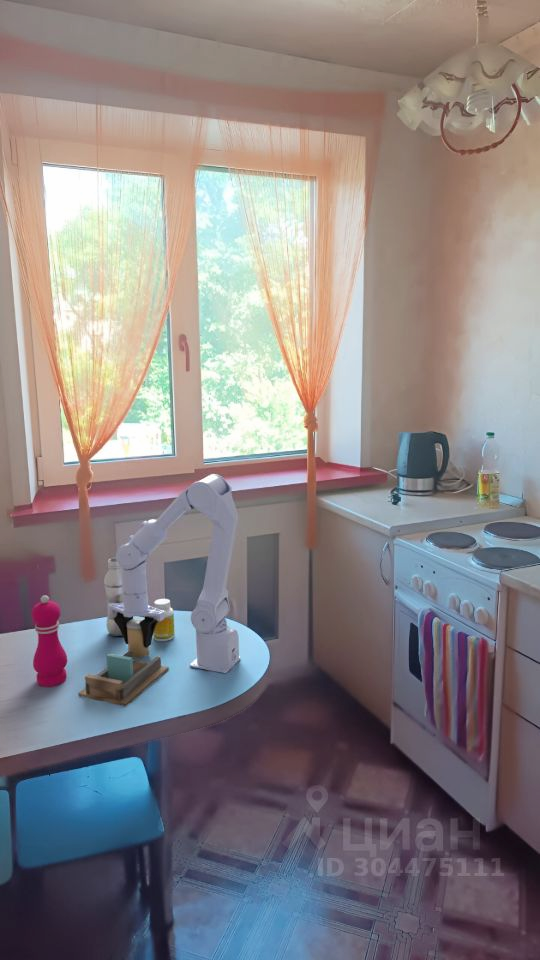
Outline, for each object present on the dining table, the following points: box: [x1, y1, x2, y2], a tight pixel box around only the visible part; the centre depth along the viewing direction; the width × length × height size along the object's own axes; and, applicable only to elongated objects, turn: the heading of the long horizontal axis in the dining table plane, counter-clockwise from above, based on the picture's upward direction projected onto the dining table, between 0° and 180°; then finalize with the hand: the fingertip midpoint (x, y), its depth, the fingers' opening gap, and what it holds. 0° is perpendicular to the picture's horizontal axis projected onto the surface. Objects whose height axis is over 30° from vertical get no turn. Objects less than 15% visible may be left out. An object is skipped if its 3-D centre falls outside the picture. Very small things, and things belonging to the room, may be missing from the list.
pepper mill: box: [31, 594, 68, 688], centre depth 143 cm, size 7×7×20 cm
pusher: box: [106, 653, 134, 683], centre depth 141 cm, size 6×1×6 cm, turn 68°
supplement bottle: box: [152, 598, 176, 642], centre depth 165 cm, size 5×5×10 cm
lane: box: [77, 650, 170, 707], centre depth 143 cm, size 12×17×4 cm
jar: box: [126, 617, 150, 659], centre depth 156 cm, size 5×5×8 cm
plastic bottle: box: [103, 557, 124, 637], centre depth 167 cm, size 6×7×20 cm
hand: (138, 644), depth 157 cm, fingers closed on jar, 5 cm apart
